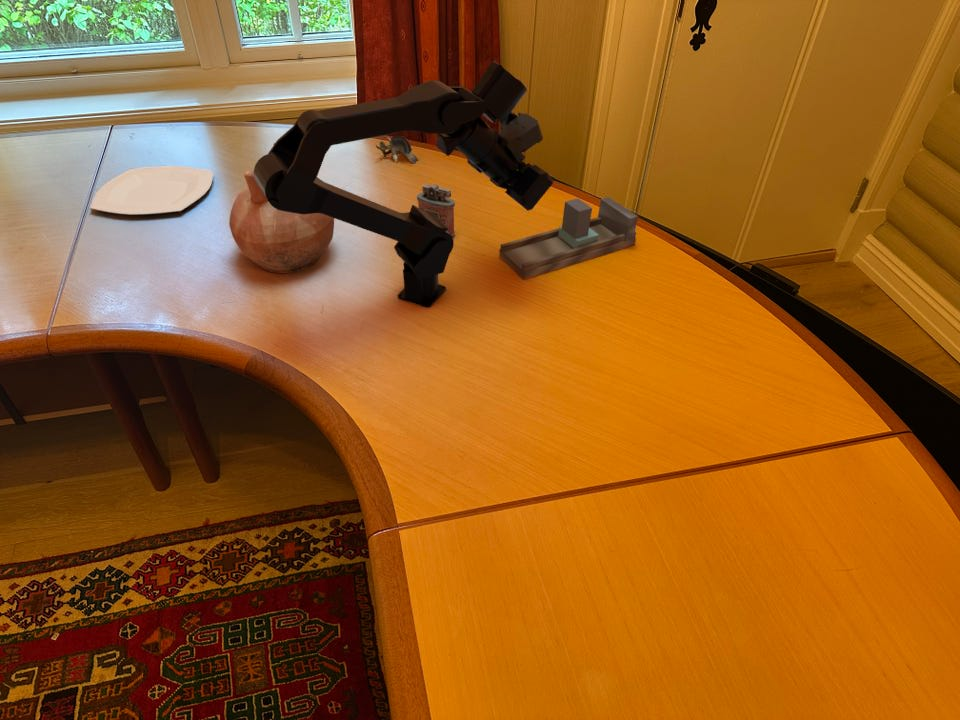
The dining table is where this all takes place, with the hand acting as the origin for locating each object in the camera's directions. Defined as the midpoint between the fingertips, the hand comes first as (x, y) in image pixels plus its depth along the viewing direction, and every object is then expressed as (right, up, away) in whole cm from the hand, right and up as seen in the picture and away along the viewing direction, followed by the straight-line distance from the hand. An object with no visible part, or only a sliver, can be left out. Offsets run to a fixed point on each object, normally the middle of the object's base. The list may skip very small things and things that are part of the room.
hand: (534, 195), depth 106 cm
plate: (-80, +7, +27) cm, 85 cm away
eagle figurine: (-29, +20, +43) cm, 55 cm away
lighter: (-18, -3, +17) cm, 25 cm away
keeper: (+9, -5, +12) cm, 16 cm away
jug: (-46, -9, +9) cm, 47 cm away
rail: (+7, -8, +12) cm, 16 cm away
